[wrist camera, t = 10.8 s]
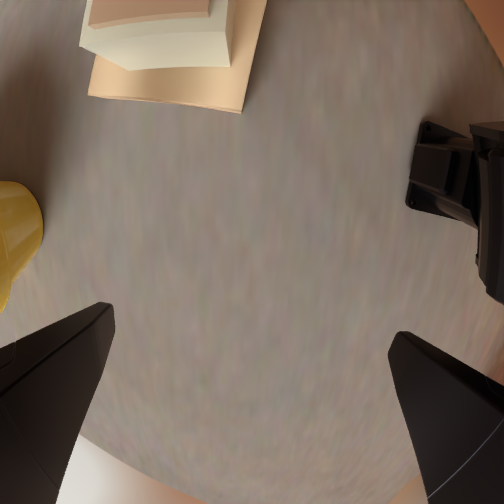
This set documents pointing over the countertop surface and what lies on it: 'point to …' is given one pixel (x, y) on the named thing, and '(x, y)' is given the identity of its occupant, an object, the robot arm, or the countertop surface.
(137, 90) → the beech block
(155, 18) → the cream lidded box
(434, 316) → the countertop surface
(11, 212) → the plant pot
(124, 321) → the countertop surface
